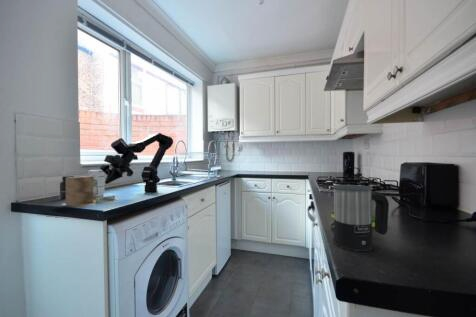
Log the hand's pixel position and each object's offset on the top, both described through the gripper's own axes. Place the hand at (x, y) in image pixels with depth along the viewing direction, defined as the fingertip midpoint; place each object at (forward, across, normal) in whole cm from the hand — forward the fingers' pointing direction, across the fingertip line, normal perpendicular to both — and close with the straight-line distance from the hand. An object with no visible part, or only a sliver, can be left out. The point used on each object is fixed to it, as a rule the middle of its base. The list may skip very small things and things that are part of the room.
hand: (105, 183), depth 109 cm
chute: (+11, 0, +2) cm, 11 cm away
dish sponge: (-3, +110, +17) cm, 111 cm away
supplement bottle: (+10, -22, +3) cm, 25 cm away
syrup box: (0, -22, +13) cm, 25 cm away
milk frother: (+10, +107, +3) cm, 107 cm away
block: (+14, 0, -3) cm, 14 cm away
